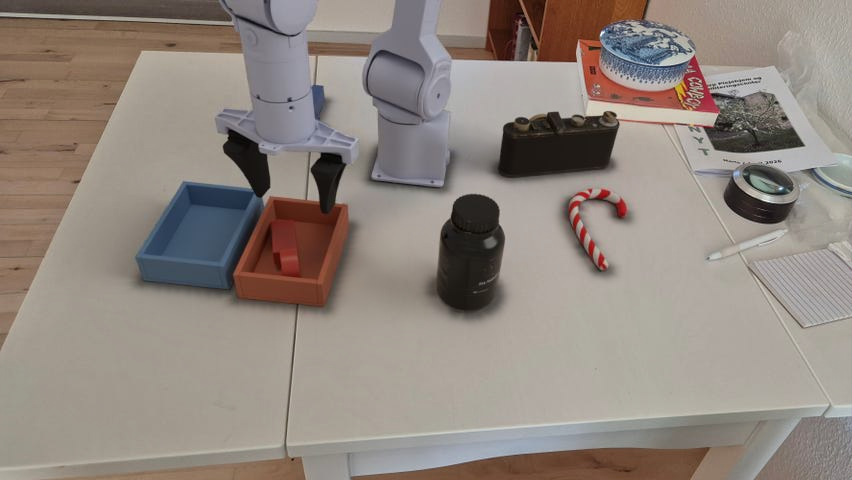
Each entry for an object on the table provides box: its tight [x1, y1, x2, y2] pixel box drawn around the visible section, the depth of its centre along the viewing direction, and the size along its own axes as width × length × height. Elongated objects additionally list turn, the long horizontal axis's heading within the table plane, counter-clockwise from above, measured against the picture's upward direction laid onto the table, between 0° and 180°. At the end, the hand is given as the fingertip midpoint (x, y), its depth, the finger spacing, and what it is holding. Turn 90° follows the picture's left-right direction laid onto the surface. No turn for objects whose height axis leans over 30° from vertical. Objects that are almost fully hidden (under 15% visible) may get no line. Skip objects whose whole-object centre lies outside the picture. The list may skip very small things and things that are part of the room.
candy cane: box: [568, 188, 628, 271], centre depth 84 cm, size 8×1×15 cm
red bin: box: [233, 195, 350, 308], centre depth 75 cm, size 9×13×4 cm
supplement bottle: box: [435, 193, 506, 312], centre depth 71 cm, size 7×7×12 cm
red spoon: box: [271, 220, 301, 278], centre depth 74 cm, size 10×4×3 cm
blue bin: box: [134, 180, 265, 290], centre depth 75 cm, size 9×13×4 cm
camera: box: [497, 110, 621, 179], centre depth 92 cm, size 16×7×8 cm, turn 106°
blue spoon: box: [312, 84, 326, 122], centre depth 96 cm, size 10×4×3 cm, turn 176°
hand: (295, 200), depth 72 cm, fingers open, 7 cm apart
